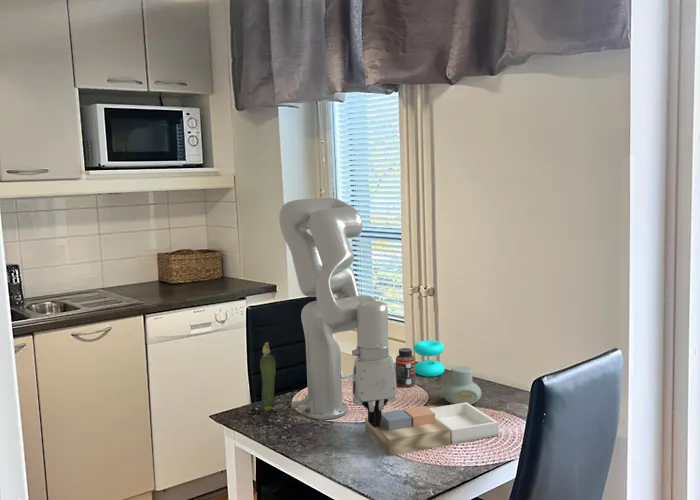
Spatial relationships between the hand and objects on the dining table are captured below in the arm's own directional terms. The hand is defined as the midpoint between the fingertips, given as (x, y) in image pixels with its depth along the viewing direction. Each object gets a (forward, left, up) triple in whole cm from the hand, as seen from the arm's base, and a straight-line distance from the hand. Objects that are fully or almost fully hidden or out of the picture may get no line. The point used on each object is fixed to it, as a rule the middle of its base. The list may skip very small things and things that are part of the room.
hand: (374, 425), depth 171 cm
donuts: (+37, +46, -5) cm, 60 cm away
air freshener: (+33, +17, -5) cm, 38 cm away
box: (+23, 0, -5) cm, 24 cm away
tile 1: (+5, 0, -1) cm, 6 cm away
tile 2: (+12, 0, -1) cm, 12 cm away
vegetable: (-19, +34, -5) cm, 39 cm away
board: (+8, 0, -5) cm, 10 cm away
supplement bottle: (+25, +38, -5) cm, 46 cm away
